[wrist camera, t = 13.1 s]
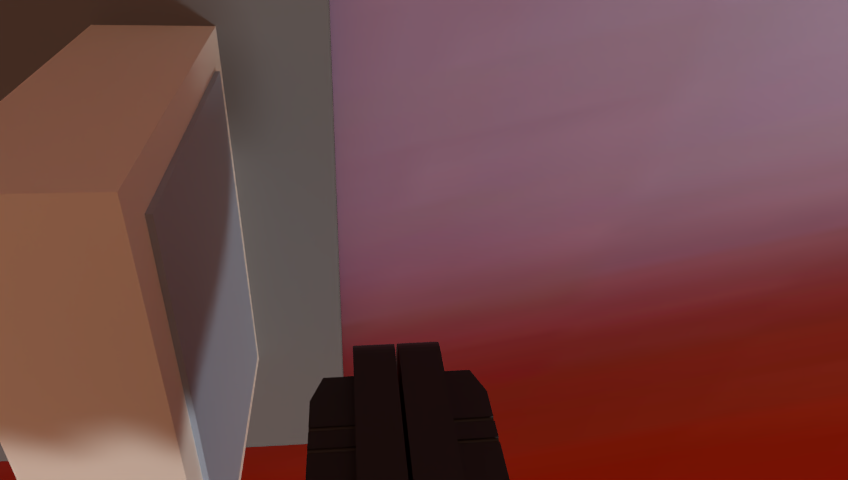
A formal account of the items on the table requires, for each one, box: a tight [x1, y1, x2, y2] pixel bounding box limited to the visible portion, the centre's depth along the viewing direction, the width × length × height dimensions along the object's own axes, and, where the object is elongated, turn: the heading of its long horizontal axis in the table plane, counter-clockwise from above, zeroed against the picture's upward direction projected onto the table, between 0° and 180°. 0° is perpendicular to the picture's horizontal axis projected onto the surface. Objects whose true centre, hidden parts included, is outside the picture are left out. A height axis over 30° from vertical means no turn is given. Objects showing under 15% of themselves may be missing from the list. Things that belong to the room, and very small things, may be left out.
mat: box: [0, 0, 343, 461], centre depth 16 cm, size 16×14×1 cm
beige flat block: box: [0, 25, 259, 480], centre depth 13 cm, size 9×2×7 cm, turn 178°
